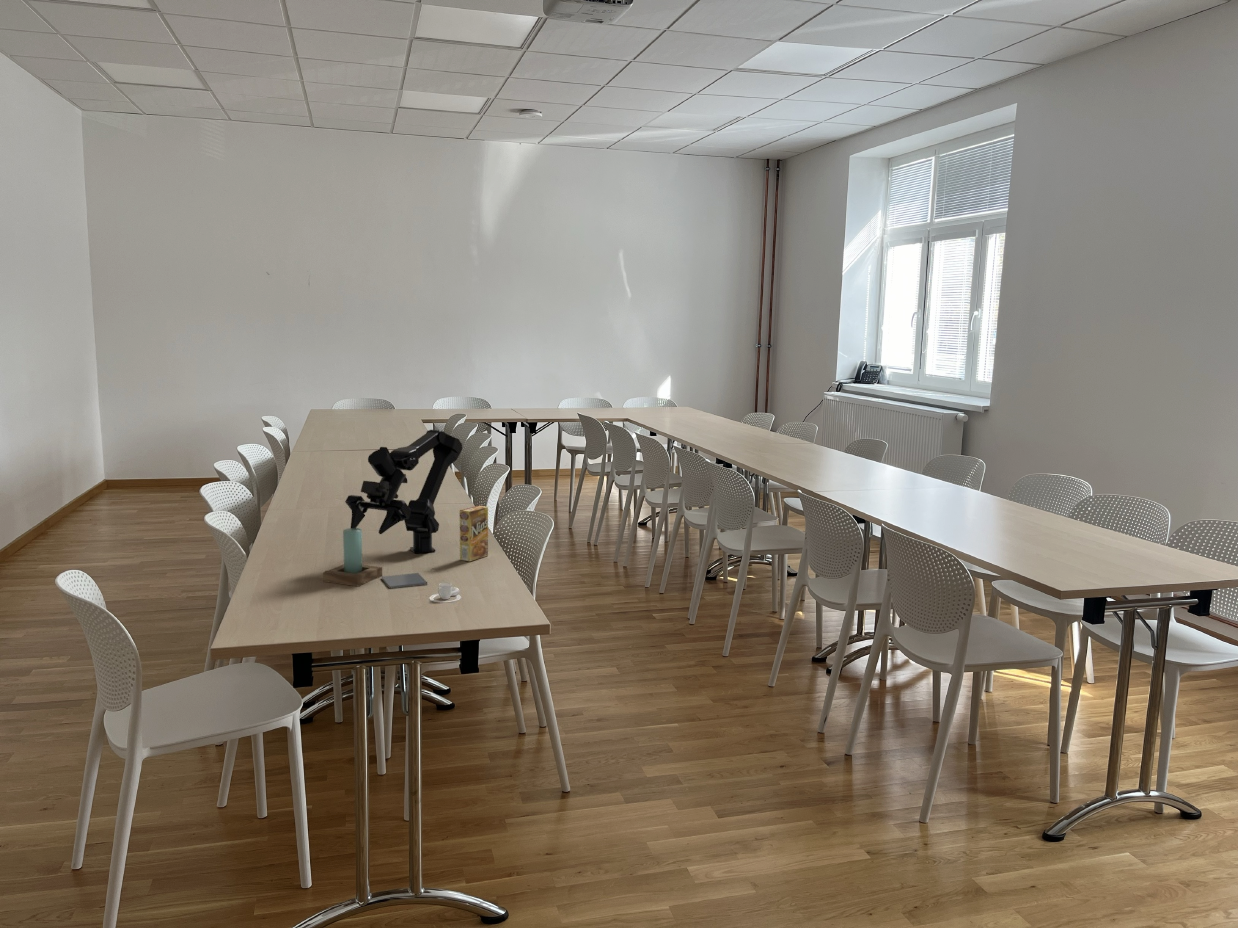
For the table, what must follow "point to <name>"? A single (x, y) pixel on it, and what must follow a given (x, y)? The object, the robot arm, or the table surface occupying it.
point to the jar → (352, 550)
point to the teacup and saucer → (446, 592)
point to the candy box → (473, 533)
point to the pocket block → (352, 575)
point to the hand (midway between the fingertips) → (365, 531)
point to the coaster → (404, 580)
